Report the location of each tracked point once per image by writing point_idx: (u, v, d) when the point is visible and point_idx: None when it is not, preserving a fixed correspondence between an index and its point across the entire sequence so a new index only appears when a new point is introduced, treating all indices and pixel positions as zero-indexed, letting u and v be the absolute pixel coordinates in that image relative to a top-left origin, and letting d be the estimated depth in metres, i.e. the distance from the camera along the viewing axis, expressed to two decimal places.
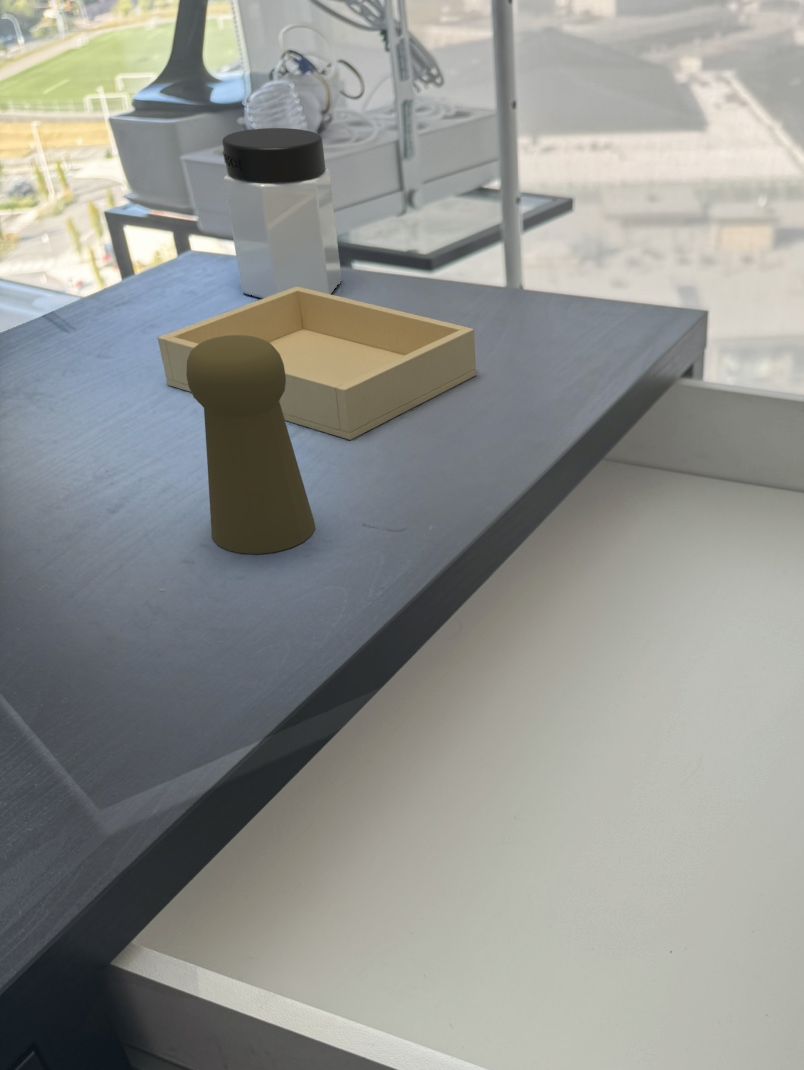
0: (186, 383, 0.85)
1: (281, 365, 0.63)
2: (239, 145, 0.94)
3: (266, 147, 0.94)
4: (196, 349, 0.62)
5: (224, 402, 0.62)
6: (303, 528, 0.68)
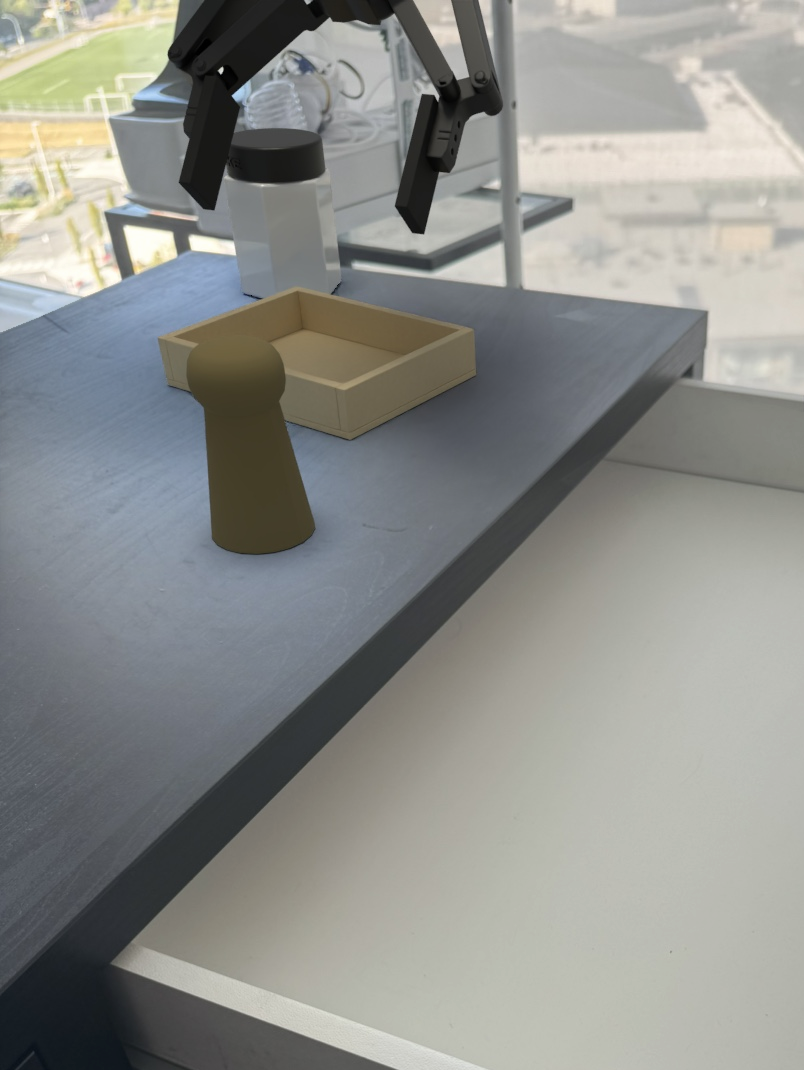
0: (186, 383, 0.85)
1: (281, 365, 0.63)
2: (239, 145, 0.94)
3: (266, 147, 0.94)
4: (196, 349, 0.62)
5: (224, 402, 0.62)
6: (303, 528, 0.68)
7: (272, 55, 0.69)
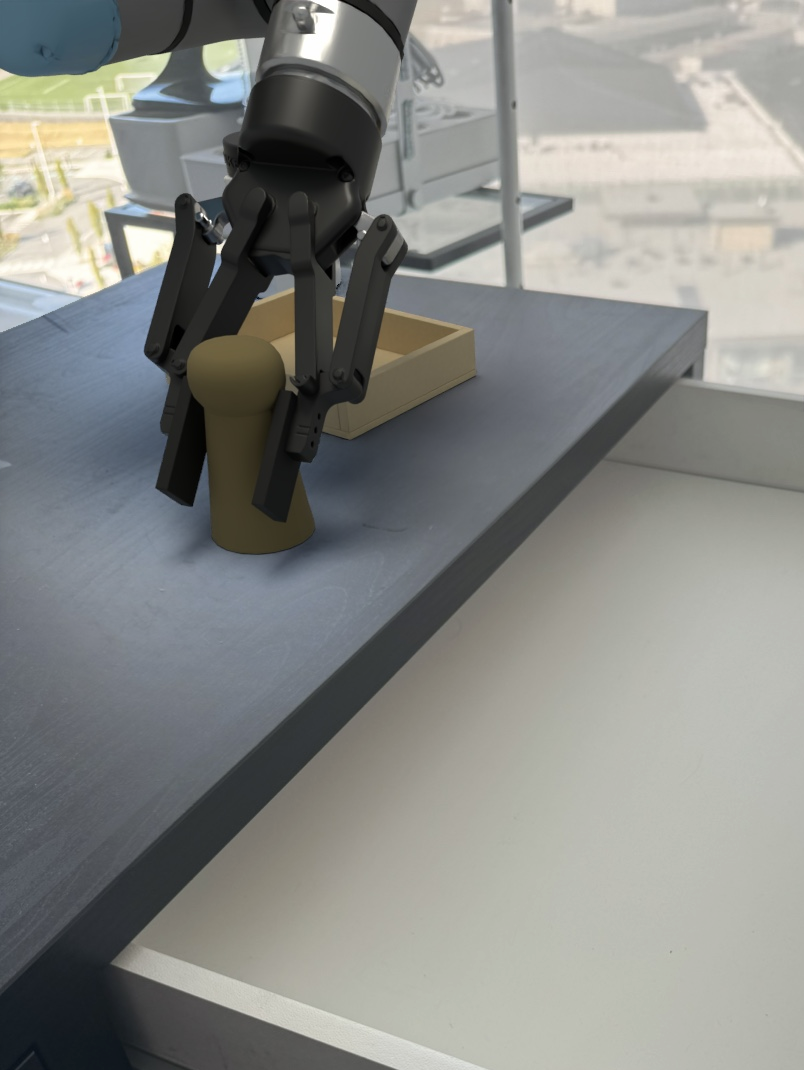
0: None
1: (281, 365, 0.63)
2: None
3: None
4: (196, 349, 0.62)
5: (224, 402, 0.62)
6: (303, 528, 0.68)
7: (237, 328, 0.67)
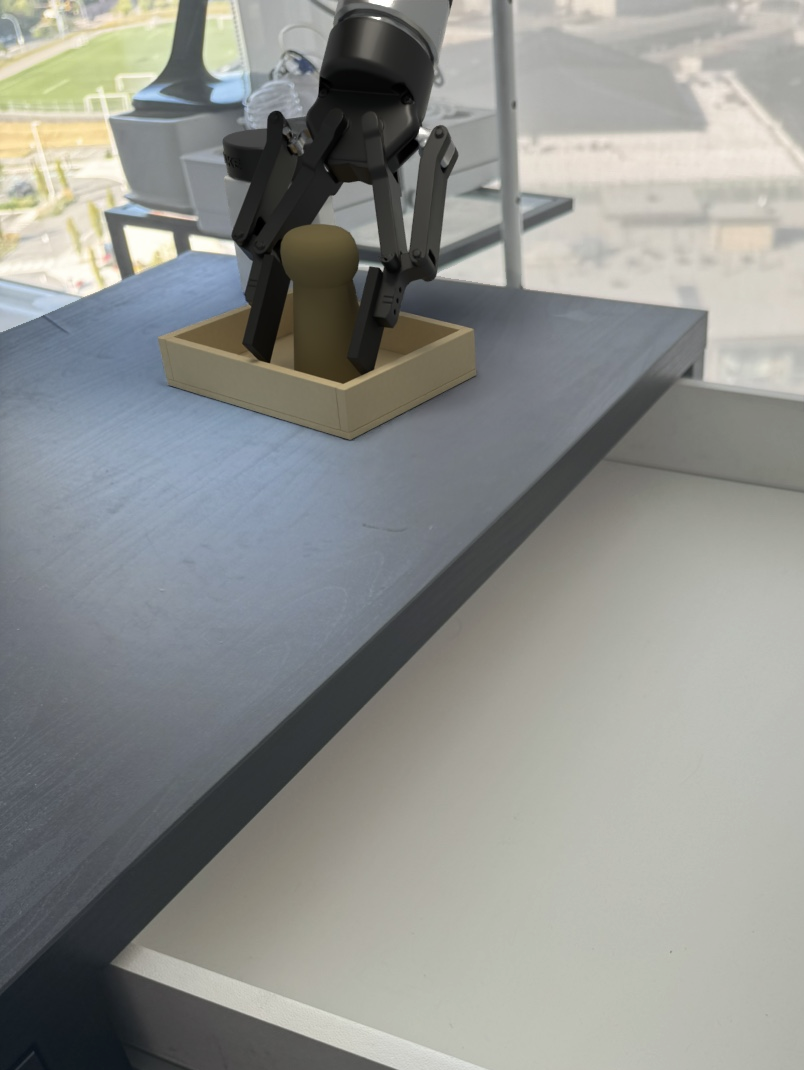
0: (186, 383, 0.85)
1: (356, 247, 0.79)
2: (239, 145, 0.94)
3: None
4: (289, 233, 0.77)
5: (311, 275, 0.77)
6: None
7: (309, 222, 0.82)
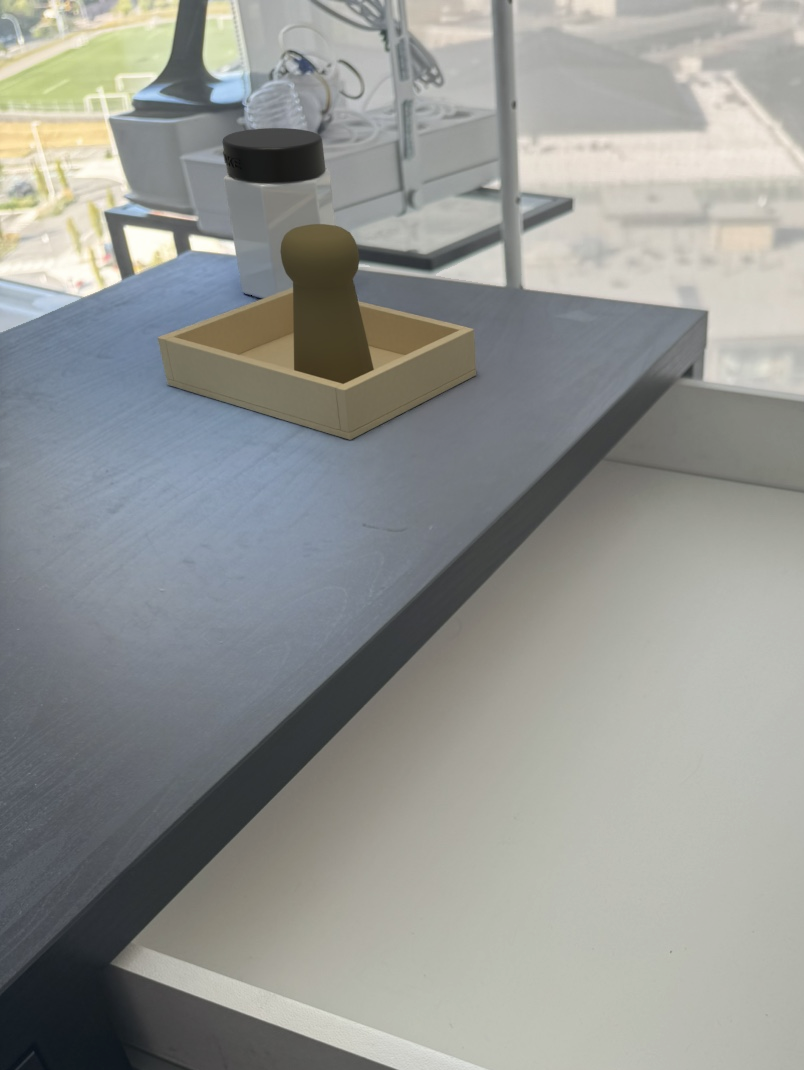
0: (186, 383, 0.85)
1: (356, 247, 0.79)
2: (239, 145, 0.94)
3: (266, 147, 0.94)
4: (289, 233, 0.77)
5: (311, 275, 0.77)
6: None
7: None
